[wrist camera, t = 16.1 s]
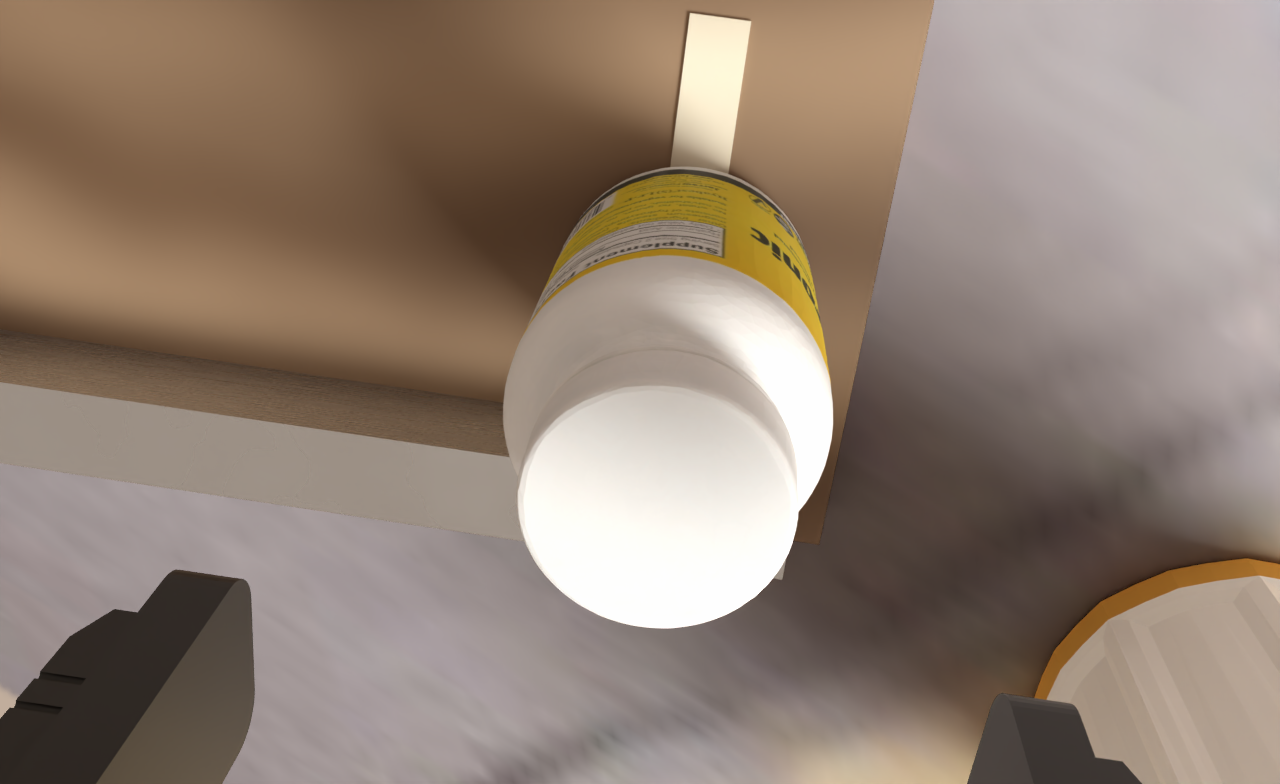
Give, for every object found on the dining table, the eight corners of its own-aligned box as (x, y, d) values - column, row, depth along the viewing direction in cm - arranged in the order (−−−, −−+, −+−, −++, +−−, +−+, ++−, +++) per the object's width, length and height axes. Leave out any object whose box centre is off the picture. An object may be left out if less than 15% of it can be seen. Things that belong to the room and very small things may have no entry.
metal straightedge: (-310, 284, 28) (-405, 322, 26) (795, 445, 27) (798, 499, 25) (-292, 362, 29) (-382, 405, 26) (780, 520, 28) (782, 580, 25)
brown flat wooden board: (-423, -274, 24) (-497, -282, 23) (943, -98, 23) (955, -95, 22) (-278, 351, 30) (-330, 376, 29) (816, 512, 29) (819, 546, 28)
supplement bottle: (825, 384, 26) (864, 660, 17) (584, 410, 27) (502, 687, 18) (800, 141, 24) (829, 312, 15) (539, 177, 25) (419, 360, 16)
